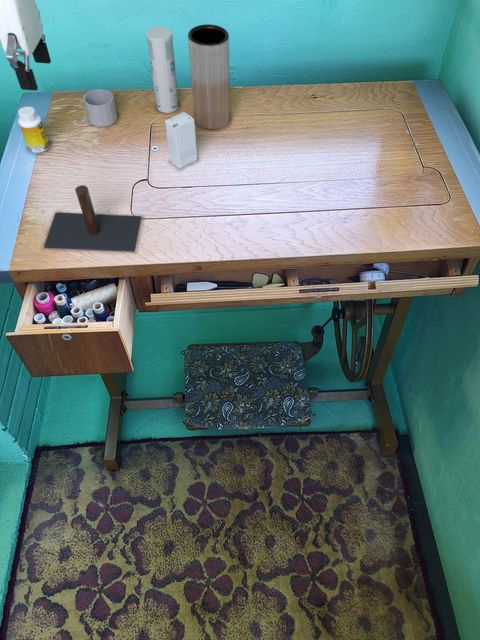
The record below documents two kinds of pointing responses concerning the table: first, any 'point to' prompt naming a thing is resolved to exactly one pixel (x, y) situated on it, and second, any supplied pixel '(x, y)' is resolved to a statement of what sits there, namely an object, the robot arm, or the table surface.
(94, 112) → the tin
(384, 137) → the table surface
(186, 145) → the cosmetic box
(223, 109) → the planter
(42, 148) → the supplement bottle
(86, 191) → the walnut stick
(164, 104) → the spray can
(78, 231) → the felt mat
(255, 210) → the table surface
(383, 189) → the table surface
